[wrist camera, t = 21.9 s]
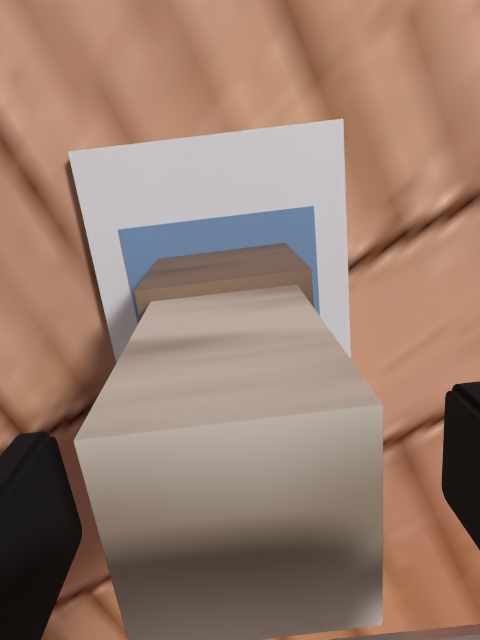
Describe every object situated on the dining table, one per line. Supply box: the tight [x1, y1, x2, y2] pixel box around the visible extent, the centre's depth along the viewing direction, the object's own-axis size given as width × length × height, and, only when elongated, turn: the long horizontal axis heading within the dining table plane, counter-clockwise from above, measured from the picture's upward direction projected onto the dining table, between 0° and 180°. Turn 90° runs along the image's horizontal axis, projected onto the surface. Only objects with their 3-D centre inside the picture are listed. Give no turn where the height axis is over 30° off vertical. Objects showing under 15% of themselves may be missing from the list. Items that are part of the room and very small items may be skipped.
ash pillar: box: [74, 285, 383, 640], centre depth 11 cm, size 5×5×8 cm
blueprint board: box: [68, 119, 351, 363], centre depth 21 cm, size 16×12×1 cm
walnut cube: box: [134, 243, 314, 320], centre depth 18 cm, size 6×6×6 cm
